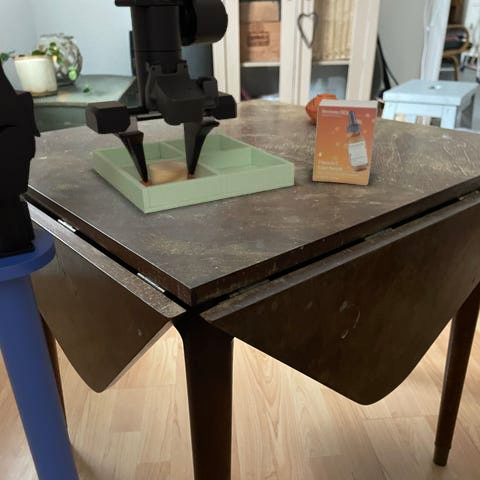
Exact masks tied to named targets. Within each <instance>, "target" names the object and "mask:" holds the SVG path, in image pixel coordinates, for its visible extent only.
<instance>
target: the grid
mask: <svg viewBox="0 0 480 480" xmlns="http://www.w3.org/2000/svg"><path fill="white" fill-rule="evenodd" d="M143 148H144V154H145V160H146V165H147V171H148V182H147V183H145V182H143V180H142V178H141V176H140V174H139V172H138V170H137V168H136V166H135V164H134V162H133V160H132V158H131V156H130V154H129V152H128V151H127V149H126V147H125V146H124V145H119V146H112V147H105V148H96V149H92V150H91V155H92V161H93V168H94V171H95V172H96V173H97V174H99V175H100V176H101V177H102V178H103V179H104V180H106V182H108V183H109V184H110V185H111V186H112V187H113V188H115V189H116V190H117V191H118V192H119V193H121V194H122V196H124V197H125V198H126V199H128V200H129V202H130V203H132V204H133V205H134V206H135V207H137V208H138V209H139V210H140V211H141V212H142V213H144V214H150V213H156V212H160V211H165V210H166V211H167V210H170V209H171V210H172V209H176V208H182V207H187V206H192V205H197V204H203V203H207V202H213V201H218V200H225V199H228V198H234V197H240V196H244V195H245V196H246V195H249V194H254V193H260V192H266V191H271V190H275V189H276V190H277V189H282V188H287V187H292V186H295V167H296V164H295V162H292V161H289V160H287V159H285V158H282V157H280V156H278V155H275V154H273V153H271V152H268V151H266V150H263V149H261V148H258V147H256V146H254V145H251V144H249V143H247V142H245V141H242V140H240V139H237V138H235V137H232V136H230V135H228V134H225V133H223V132H218V133H217V132H216V133H208V135H207V136H206V139H205V141H204V143H203V146H202V149H201V153H200V156H199V159H198V163H197V166H196V170H195V173H194V175H190V174H189V173H188V168H187V179H188V180H184V181H178V182H173V183H167V184H161V185H155V186H151V181H150V171H149V166H150V165H151V164H153V163H157V162H162V161H179V162H183V163H185V164H186V165H187V163H186V152H185V139H184V137H179V138H171V139H164V140H157V141H150V142H143Z"/></svg>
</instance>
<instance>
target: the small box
mask: <svg viewBox="0 0 480 480" xmlns="http://www.w3.org/2000/svg"><path fill="white" fill-rule="evenodd" d="M378 109H379V101H378V100H376V99H375V100H373V99H372V100H358V99H357V100H355V99H354V100H353V99H338V100H329V99H322V101H321V102H320V104H319V105H318V112H317V122H316V126H315V127H316V128H315V141H314V153H313V165H312V168H313V169H312V182H327V183H340V184H351V185H359V186H368V184H369V180H370V173H371V167H372V166H371V165H372V157H373V152H374V151H373V150H374V141H375V133H376V125H377V116H378Z"/></svg>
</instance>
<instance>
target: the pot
mask: <svg viewBox="0 0 480 480" xmlns="http://www.w3.org/2000/svg"><path fill="white" fill-rule="evenodd" d="M322 99H329V100H339V99H338V98H337V95H336V94H332V93H320V94H319V93H318V94H316V96H315V97H313V98H312V99H310V100H309V101H308V102H307V103H306V105H305V107H304V111H305V112H306V114H307V115H308V117H309V118H310V119H311V121H312V124H313V125H315V124H316V123H317V112H318V105H319V104H320V102H321V101H322Z"/></svg>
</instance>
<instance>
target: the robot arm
mask: <svg viewBox="0 0 480 480" xmlns="http://www.w3.org/2000/svg"><path fill="white" fill-rule="evenodd" d="M113 4H114V6H115V7H117V8H129V12H130V19H131V20H130V21H131V22H130V23H131V31H132V41H133V50H134V57H133V58H132V67H133V68H135V71H136V79H137V89H138V93H135V95H136V97H135V98H136V103H138V104H139V105H130V106H127V105H126V104H123V103H121V102H119V101H117V100H106V101H94V102H88V103H87V105H86V106H85V108H84V117H85V124H86V127H87V128H89V129H90V130H92V131H93V132H95V133H96V134H98V135H113V136H115V137H116V138H118V139H119V140H120V141H121V143H122V145H123V146H125V147H126V149H127V151H128V152H129V154H130V156H131V158H132V160H133V162H134V164H135V166H136V168H137V170H138V172H139V174H140V176H141V178H142V180H143V182H145V183H147V182H148V171H147V165H146V160H145V154H144V148H143V143H144V138H145V137H144V136H145V133H144V132H143V131H141V130H139V126H138V123H139V122H146V121H154V120H155V121H156V120H163V121H164V123H166V125H169V126H171V127H172V126H174V127H176V126H180V125H183V127H182V128H183V136H184V137H183V138H184V139H185V152H186V163H187V168H188V173H189V174H190V175H194V173H195V170H196V166H197V163H198V159H199V156H200V153H201V149H202V146H203V143H204V141H205V139H206V136H207V135H208V134H210V133H211V131H212V130H213V129H214V128H218V127H219V126H220V125H221V122H220V121H224V120H233V119H237V118H238V103H237V100H236V98H235V97H234V95H232V94H230V93H226V92H223V91H220V90H219V83H218V79H217V78H216V77H215V76H214V75H200V76H198V78H191V76H190V72H189V64H188V60H187V59H184V57H183V47H194V46H195V47H196V46H203V45H211V44H217V43H218V42H220V41H222V39H223V38H224V37H225V36H226V33H227V31H228V26H229V14H228V13H227V8H226V6H225V4H224V2H223V1H222V0H114V1H113ZM41 137H42V135H41V132H40V130H39V128H38V127H37V123H36V119H35V101H34V97H33V96H32V92H30V91H27V90H21V89H15V87H14V86H13V84H12V82H11V81H10V80H9V78H8V75H7V74H6V72H5V69H4V66H3V60H2V55H1V54H0V259H2V258H7V257H12V256H16V255H21V254H26V253H31V252H34V251H35V248H34V245H33V243H32V242H31V241H33V240H34V239H35V234H34V230H33V228H34V226H33V221H32V217H31V212H30V207H29V203H28V202H27V200H26V198H25V197H24V195H22V194H25V193H27V192H28V190H29V181H30V171H31V163H32V160H33V159H35V157H36V153H37V140H36V138H41Z"/></svg>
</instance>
